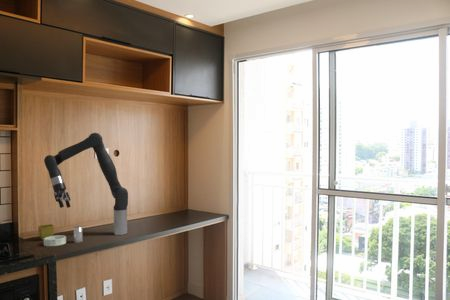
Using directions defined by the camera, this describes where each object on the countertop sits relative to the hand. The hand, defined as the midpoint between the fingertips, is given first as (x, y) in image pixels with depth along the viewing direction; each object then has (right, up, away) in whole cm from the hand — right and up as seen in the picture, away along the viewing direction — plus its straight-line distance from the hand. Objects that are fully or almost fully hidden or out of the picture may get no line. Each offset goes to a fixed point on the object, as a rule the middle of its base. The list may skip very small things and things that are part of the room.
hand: (65, 207), depth 239 cm
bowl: (-5, -22, -5) cm, 23 cm away
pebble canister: (+8, -22, 0) cm, 24 cm away
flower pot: (-17, -23, +9) cm, 30 cm away
